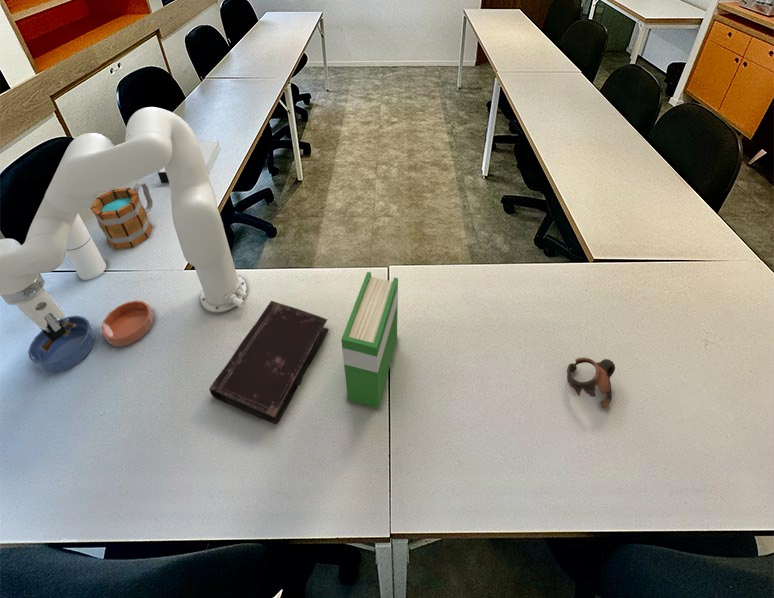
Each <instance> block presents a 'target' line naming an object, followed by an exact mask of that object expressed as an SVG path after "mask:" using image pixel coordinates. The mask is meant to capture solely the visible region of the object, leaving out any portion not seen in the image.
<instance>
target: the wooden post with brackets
mask: <svg viewBox="0 0 774 598" xmlns="http://www.w3.org/2000/svg"><path fill="white" fill-rule="evenodd" d="M61 325H62V326H63V328H67V327H77V325H75V324H73V323H72V324H71V323H69V319H68V318H67V319H66V320H64V321H63V322H61ZM66 325H67V326H66ZM71 329H72V328H69V329H68V330H66V333H65V334H64V335H63V337H66V336H68V335H69V333H71V331H70V330H71ZM52 343H53V342H52V341H51V340H50V339H49V340H48V341H47V342H46V344H45V345H43V346H42V347H41V346H40V347H39V348H40V349H41V350H42V351H45V352H49V351H50V350H49V348H50V346H51V345H52Z"/></svg>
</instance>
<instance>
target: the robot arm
mask: <svg viewBox="0 0 774 598" xmlns="http://www.w3.org/2000/svg"><path fill="white" fill-rule="evenodd" d="M199 142H200V141H199V140H198V137H197V136H196V133H195V132H194V130H193V129H192V128H191V126H190V125H189V124H188V123H187V122H186V121H185V120H184V119H183V118H182V117H180V116H179V115H177V114H176V113H174V112H172V111H170V110H167V109H164V108H161V107H155V106H149V107H148V106H147V107H142V108H140V109H138V110H136V111H135V112H134V113H133V114H132V115H131V116H130V117H129V119H128V122H127V124H126V128H125V137H124V142H122V143H119V144H116V145H114V143H113V142H112V141H111V139H110V138H108V137H106V135H105V136H104V135H103V134H100V133H97V132H87V133H83V134H80V135H78V136H77V137H75V138H74V139H73V140H72V141H70V143H69V145H68V146H67V148H66V150H65V152H64V154H63V156H62V157H61V160H60V162H59V164H58V167H57V168H56V171H55V173H54V175H53V177H52V179H51V181H50V183H49V185H48V188H47V189H46V190H45V193H44V197H43V199H42V201H41V203H40V205H39V207H38V208H37V211H36V213H35V214H34V217H33V219H32V222H31V224H30V226H29V229H28V231H27V234H26V238H25V240H24V242H23V244H21V243H20V242H19V241H17V240H16V239H14V238H0V297H1V298H2V300H3V301H4V302H5V303H6V304H7V305H11V306H15V305H16V306H17V308H18V309H19V310H20V312H22V313H23V314H24V315H25V316H26V318H28V319H29V320H30V321H31V322H32V323H33V324H35V325H36V326H37V327H39V329H40V330H41V331H43V332H44V334H45V335H46V336H47V337H48V338H50V340H51V341H52V342H54V341H56V340H57V339H58V338H60V337H61V336H62V335H64V334H65V333H66V331H65V329H64V328H63V326H62V325H61V324H60V322H58V320H60V319H63V318H66V313H64V311H63V310H62V309H61V308H60V306H59V304H57V302H56V301H55V300H54V298H53V296H52V295H50V293H49V292H48V291H47V290H46V288H45V286H46V281H45V279H44V278H43V276H42V274H47V273H51V272H54V271H55V270H57V269H58V268H60V267H61V266H62V264H63V263H64V260H65V257H66V253H65V252H66V247H67V242H68V237H69V233H70V230H71V227H72V225H73V223H74V221H75V219H76V217H77V215H78V214H79V212H83V211H85V210H88V209H90V208H91V207H92V205H93V203H94V202H95V200H96V198H97V196H98V194H101V193H104V192H105V193H106V192H109V191H111V190H114V189H116V188H119V187H121V186H124V185H126V184H130V183H131V182H134V181H137V180H139V179H142V178H145V177H147V176H150V175H152V174H155V173H158V172H160V171H161V169H162V168H163V167H164V168H165V171H166V174H167V177H168V180H169V183H168V185H169V188H170V201H171V203H170V204H171V215H172V222H173V225H174V229H175V232H176V236H177V239H178V243H179V246H180V249H181V252H182V255H183V257H184V259H185V261H186V262H187V263H188V264H189V265H191V266H192V267H194V270H195V272H196V275H197V277H198V280H199V283H200V285H201V288H202V290H201V293H200V299H199V300H200V303H201V305H202V307H203V308H204V309H205V310H206V311H207V312H211V313H223V312H228V311H230V310H232V309H233V308H235V307H238V308H240V309H241V308H243V307H245V304H246V302H245V300H243V299H246V298H247V297H248V295H249V293H247V283H246V280H245V279H244V278H243V277H241V276H240V275H238V274H237V270H236V266H235V263H234V260H233V256H232V253H231V248H230V246H229V245H230V244H229V242H228V238H227V235H226V232H225V227H224V222H223V220H222V216H221V214H220V211H219V207H218V203H217V202H218V201H217V198H216V194H215V190H214V187H213V185H212V183H211V179H210V175H209V176H208V172H207V168H206V164H205V161H204V157H203V154H202V150H201V147H200V144H199Z"/></svg>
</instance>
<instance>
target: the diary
mask: <svg viewBox="0 0 774 598" xmlns="http://www.w3.org/2000/svg"><path fill="white" fill-rule="evenodd" d="M327 322H328V318H325V317H322V316H321V315H316V314H315V313H314V314H313V313H311V312H308V311H305V310H302V309H300V308H297V307H293V306H290V305H287V304H284V303H279V302H277V301H274V300H270V302H269V303H268V305H267V306H266V308H265V309H264V311H262V313H261V315H260V316H259V318H258V320H257V321H256V322H255V324H254V325H253V326H252V328H251V329H250V330H249V332H248V333H247V334H246V336H245V337H244V339H243V340H242V341H241V343H239V345H238V346H237V349H236V350H235V351H234V353H233V355H232V356H231V358H230V359H229V361H228V362H227V363H226V365H225V366H224V367H223V369H222V370H221V371H220V373H219V375H218V376H217V377H216V378H215V380H214V381H213V382H212V383H211V385H210V387H209V393H210V395H211V396H212V398H213V399H214V400H218V401H220V402H222V403H225V404H226V405H229V406H231V407H233V408H236V409H238V410H240V411H242V412H245V413H247V414H249V415H251V416H254V417H256V418H258V419H260V420H262V421H265V422H268V423H271V424H273V425H278V424H279V422H280V421H281V420H282V417H283V415H284V414H285V412H286V410H287V408H288V406H289V404H290V403H291V401H292V399H293V398H294V395H295V394H296V391H297V389H298V388H299V386H301V384H302V381H303V378H304V376H305V374H306V372H307V371H308V369H309V367H310V366H311V364H312V362H313V360H314V358H316V357H315V356H316V355H317V353H318V351H319V350H320V348H321V346H322V344H323V342H324V340H325V338H326V336H327V334H328V332H329V331H330V330H329V328H327V327H325V325H326V323H327Z"/></svg>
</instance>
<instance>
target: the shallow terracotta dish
mask: <svg viewBox="0 0 774 598" xmlns="http://www.w3.org/2000/svg"><path fill="white" fill-rule="evenodd" d="M154 318H155V317H154V314H153V311H152V309H151V307H150V306H149V304H147V303H146V302H144V301H143V300H142V301H141V300H132V301H127V302H124V303H123V304H120V305H118V306H117V307H115V308H114V309H113V310H112V311H110V312H109V313H108V314H107V315H106V317H105V318H104V319H103V322H102V325H101V327H100V329H101V334H102V336H103V338H104V339H105V340H106V342H108V344H110V345H111V346H114V347H124V346H129V345H132V344H133V343H136V342H137V341H139V340H140V339H142V338H143V337H144V336H145V335H146V334H147V333H148V332H149V331H150V329H151V328H152V326H153V323H154Z"/></svg>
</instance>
